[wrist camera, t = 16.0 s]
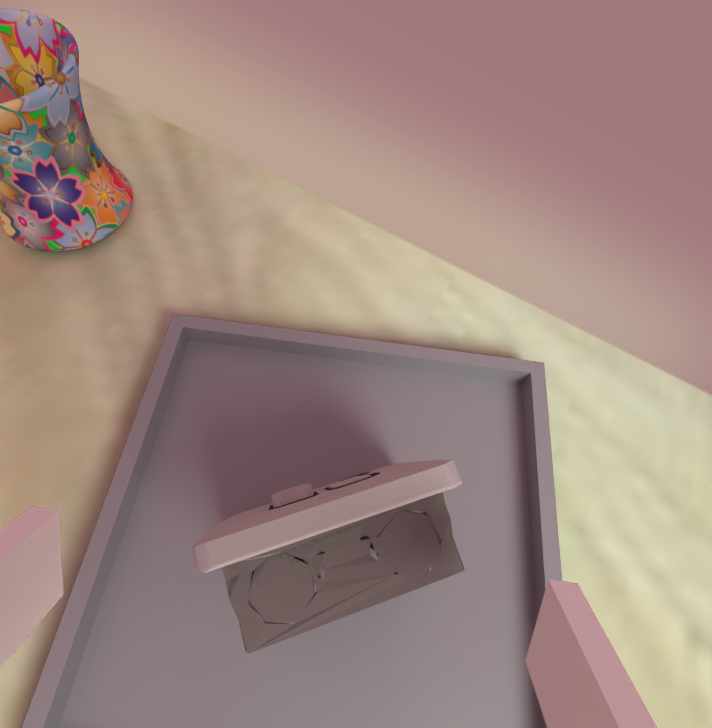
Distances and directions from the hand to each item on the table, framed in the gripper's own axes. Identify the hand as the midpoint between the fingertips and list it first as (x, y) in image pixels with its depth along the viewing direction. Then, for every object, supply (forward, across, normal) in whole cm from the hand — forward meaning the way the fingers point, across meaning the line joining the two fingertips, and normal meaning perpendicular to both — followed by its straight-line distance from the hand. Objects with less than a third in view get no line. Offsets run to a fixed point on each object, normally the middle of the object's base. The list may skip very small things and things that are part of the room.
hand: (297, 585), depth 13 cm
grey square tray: (+10, +1, -6) cm, 12 cm away
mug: (+24, -22, +8) cm, 33 cm away
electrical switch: (+10, +1, -6) cm, 11 cm away
